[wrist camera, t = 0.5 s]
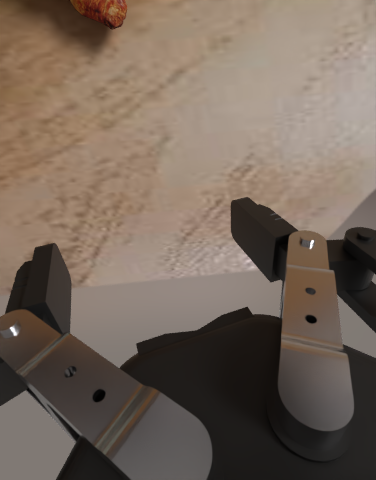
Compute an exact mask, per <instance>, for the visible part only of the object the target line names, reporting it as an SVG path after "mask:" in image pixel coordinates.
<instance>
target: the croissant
mask: <svg viewBox="0 0 376 480" xmlns="http://www.w3.org/2000/svg"><path fill="white" fill-rule="evenodd" d="M70 1H71V3H72V4H73V6H74V7H75V9H76V10H77V11H78V12H80V13H81V14H82V15H84V16H86V17H88V18H91V19H93V20H96V21H98V22H101V23H103V24H104V25H106V26H107V27H109V28H110V29H115V28H119V27H121V26H122V24H123V20H124V19H125V18H126V12H127V5H126V2H125V0H70Z"/></svg>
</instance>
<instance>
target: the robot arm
mask: <svg viewBox="0 0 376 480" xmlns="http://www.w3.org/2000/svg"><path fill="white" fill-rule="evenodd" d="M231 233H232V236H233V238H234V240H235V241H236V243H237V244H238V245H239V246H240V247H241V248H242V250H243V251H244V252H245V253H246V254H247V255H248V257H249V258H250V259H251V260H252V261H253V262H254V264H255V265H256V266H257V267H258V268H259V269H260V271H261V272H262V273H263V274H264V275H265V276H266V278H267V279H268V280H269V281H270V282H274V281H277V280H280V279H281V280H282V281H283V283H282V292H281V302H280V313H279V317H275V316H271V315H263V314H262V315H261V314H254V315H253V314H252V313H251V311H250V310H249V308H248V307H245V308H242V309H239V310H236V311H233V312H230V313H227V314H224V315H221V316H220V317H218V318H216V319H215V320H213V321H212V322H210V323H208V324H207V325H205V326H204V327H202V328H200V329H198V330H196V331H189V332H179V333H169V334H164V335H161V336H158V337H155V338H152V339H149V340H146V341H142V342H140V343H137V349H138V353H137V354H136V355H134V356H133V357H131V358H130V359H129V360H127V361H126V362H125V363H124V364H123V365H122V366H121V367H120V368H118V367H117V366H115V365H114V364H113V363H111V362H110V361H108V360H107V359H106V358H104V357H103V356H101V355H100V354H99V353H97V352H95V351H94V350H93V349H91V348H90V347H89V346H87V345H86V344H84V343H83V342H82V341H80V340H79V339H77V338H76V337H75V336H73V335H72V334H70V315H71V278H70V274H69V271H68V269H67V267H66V264H65V262H64V260H63V258H62V255H61V253H60V251H59V249H58V246H57V245H56V244H55V243H52V244H48V245H43V246H39V247H36V248H35V250H34V255H33V259H32V261H28V262H25V263H24V264H23V265H22V266H21V267H20V269H19V270H18V271H17V274H16V277H15V282H14V284H13V290H12V291H11V294H10V298H9V301H8V305H7V308H6V312H5V314H4V315H3V316H1V317H0V406H1V405H3V404H4V403H6V402H8V401H9V400H11V399H12V398H14V397H16V396H17V395H19V394H20V393H22V392H23V391H26V392H27V393H28V394H29V395H30V396H31V397H32V398H33V399H34V400H35V401H36V402H37V403H38V404H39V405H40V406H41V407H42V408H43V409H44V410H45V411H46V412H47V413H48V414H49V415H50V416H51V417H52V418H53V419H54V420H55V421H56V422H57V423H58V424H59V426H60V427H61V428H62V429H63V430H64V431H65V432H66V433H67V434H68V436H69V437H70V438H71V439H72V440H73V441H74V442H75V443H76V444H75V445H74V447H73V449H72V451H71V453H70V455H69V457H68V458H67V460H66V462H65V464H64V466H63V468H62V469H61V471H60V473H59V475H58V477H57V479H56V480H376V358H374V357H372V356H369V355H367V354H365V353H362V352H360V351H358V350H355V349H353V348H351V347H348V346H346V345H344V344H343V342H342V333H341V325H340V316H339V308H338V299H337V295H338V296H339V297H340V298H342V299H343V301H344V302H345V303H346V304H348V306H349V307H350V308H351V309H352V310H353V311H354V312H356V314H357V315H358V316H360V318H361V319H362V320H363V321H364V322H365V323H366V324H367V325H368V326H369V327H370V328H371V329H372V330H373V331H375V333H376V284H374V283H373V282H372V281H371V280H372V278H373V275H374V273H375V274H376V231H375V230H372V229H369V228H363V227H356V228H351V229H349V230H347V231H346V233H345V237H344V239H343V240H326V239H325V238H324V237H323V236H322V235H320V234H318V233H316V232H312V231H305V230H304V231H298V230H297V229H296V228H294V227H293V226H292V225H290V224H289V223H288V222H287V221H285V220H284V219H283V218H281V217H280V216H279V215H278V214H276V213H275V212H274V211H273V210H271V209H270V208H268V207H265V206H263V205H260V204H259V205H257V204H256V203H255V202H253V201H252V200H251V199H250V198H248V197H245V198H241V199H237V200H233V201H232V202H231Z"/></svg>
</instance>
